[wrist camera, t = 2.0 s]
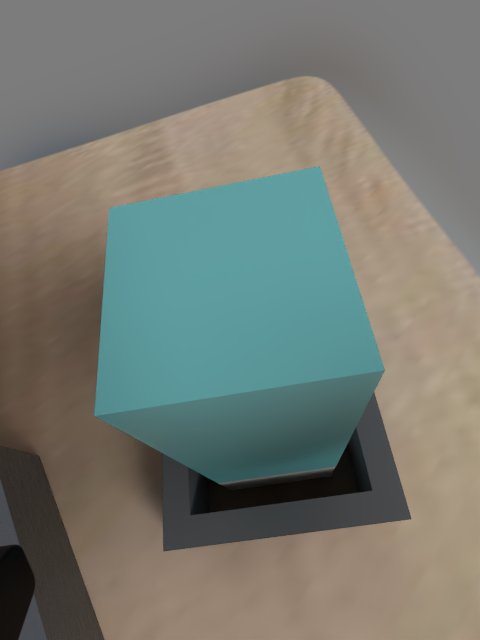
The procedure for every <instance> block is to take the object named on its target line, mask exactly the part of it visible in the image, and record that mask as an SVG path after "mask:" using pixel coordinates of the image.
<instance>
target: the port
mask: <svg viewBox="0 0 480 640" xmlns="http://www.w3.org/2000/svg"><path fill="white" fill-rule="evenodd" d="M13 544H16V545H19V546H21V547H22V549H23V550H24V553H25V555H26V557H27V559H28V562H29V564H30V566H31V569H32V571H33V573H34V576H35V591H34V594H33V597H32V600H31V603H30V606H29V610H28V613H27V616H26V619H25V622H24V625H23V628H22V631H21V634H20V637H19V640H104V638H103V635H102V632H101V629H100V627H99V624H98V621H97V618H96V615H95V613H94V610H93V607H92V604H91V601H90V598H89V596H88V593H87V590H86V587H85V584H84V582H83V579H82V576H81V573H80V570H79V567H78V565H77V562H76V559H75V556H74V553H73V551H72V548H71V545H70V542H69V539H68V536H67V534H66V531H65V528H64V525H63V522H62V520H61V517H60V514H59V511H58V508H57V505H56V503H55V500H54V497H53V494H52V491H51V489H50V486H49V483H48V480H47V477H46V474H45V472H44V469H43V466H42V463H41V460H40V458H39V456H36V455H33V454H29V453H26V452H22V451H18V450H15V449H11V448H7V447H4V446H0V546H6V545H13Z"/></svg>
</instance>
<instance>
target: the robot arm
mask: <svg viewBox="0 0 480 640" xmlns="http://www.w3.org/2000/svg"><path fill="white" fill-rule="evenodd" d="M34 591H35V576H34V573H33V571H32V569H31V566H30V564H29V562H28V559H27V557H26V555H25V553H24V550H23V549H22V547H21V546H19V545H16V544H13V545H6V546H0V640H19V637H20V634H21V631H22V628H23V625H24V622H25V619H26V616H27V613H28V610H29V606H30V603H31V600H32V597H33V594H34Z"/></svg>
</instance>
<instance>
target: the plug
mask: <svg viewBox="0 0 480 640" xmlns="http://www.w3.org/2000/svg"><path fill="white" fill-rule="evenodd" d="M384 371H385V369H384V366H383V363H382V360H381V357H380V354H379V350H378V347H377V344H376V341H375V338H374V335H373V332H372V329H371V325H370V322H369V319H368V316H367V313H366V310H365V307H364V303H363V300H362V297H361V294H360V291H359V288H358V285H357V281H356V278H355V275H354V272H353V269H352V266H351V263H350V259H349V256H348V253H347V250H346V247H345V244H344V241H343V237H342V234H341V231H340V228H339V225H338V222H337V219H336V215H335V212H334V209H333V206H332V203H331V200H330V197H329V193H328V190H327V187H326V184H325V181H324V178H323V175H322V171H321V168H320V166H319V167H314V168H309V169H304V170H299V171H294V172H289V173H284V174H279V175H273V176H268V177H263V178H258V179H253V180H248V181H243V182H238V183H233V184H228V185H223V186H218V187H213V188H207V189H202V190H197V191H192V192H187V193H182V194H177V195H172V196H167V197H162V198H157V199H152V200H146V201H141V202H136V203H131V204H126V205H121V206H116V207H111V208H109V218H108V232H107V246H106V260H105V274H104V288H103V302H102V316H101V330H100V344H99V358H98V372H97V385H96V399H95V413H94V416H95V417H97V418H99V419H101V420H102V421H104V422H106V423H108V424H110V425H112V426H113V427H115V428H117V429H119V430H121V431H123V432H124V433H126V434H128V435H130V436H132V437H134V438H135V439H137V440H139V441H141V442H143V443H145V444H147V445H148V446H150V447H152V448H154V449H156V450H158V451H159V452H161V453H163V454H165V455H167V456H169V457H170V458H172V459H174V460H176V461H178V462H180V463H182V464H183V465H185V466H187V467H189V468H191V469H193V470H194V471H196V472H198V473H200V474H202V475H204V476H205V477H207V478H209V479H211V480H213V481H215V482H216V483H218V484H220V485H222V486H224V487H226V488H228V489H229V490H236V489H243V488H251V487H258V486H265V485H272V484H279V483H286V482H293V481H301V480H308V479H315V478H322V477H329V476H331V475H332V473H333V471H334V469H335V467H336V465H337V464H338V462H339V460H340V458H341V456H342V454H343V452H344V450H345V448H346V446H347V444H348V442H349V440H350V438H351V436H352V434H353V432H354V430H355V428H356V426H357V424H358V422H359V420H360V418H361V416H362V414H363V412H364V410H365V408H366V406H367V404H368V402H369V400H370V399H371V397H372V395H373V393H374V391H375V389H376V387H377V385H378V383H379V381H380V379H381V377H382V375H383V373H384Z"/></svg>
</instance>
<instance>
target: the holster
mask: <svg viewBox="0 0 480 640" xmlns="http://www.w3.org/2000/svg"><path fill="white" fill-rule="evenodd" d="M347 447H348V451H349V455H350V459H351V463H352V467H353V471H354V475H355V480H356V484H357V488H358V492H359V493H352V494H344V495H337V496H330V497H322V498H315V499H308V500H300V501H293V502H286V503H278V504H271V505H264V506H256V507H249V508H242V509H234V510H227V511H220V512H212V513H210V503H209V488H208V478H207V477H205V476H204V475H202V474H200V473H198V472H196V471H194V470H193V469H191V468H189V467H187V466H185V465H183V464H182V463H180V462H178V461H176V460H174V459H172V458H170V457H169V456H167V455H165V454H163V453H162V481H163V550H164V551H170V550H177V549H185V548H193V547H200V546H208V545H216V544H223V543H231V542H239V541H246V540H254V539H262V538H270V537H277V536H285V535H293V534H300V533H308V532H316V531H323V530H331V529H339V528H346V527H354V526H362V525H369V524H377V523H385V522H393V521H400V520H408V519H411V516H410V512H409V509H408V506H407V502H406V499H405V495H404V492H403V489H402V485H401V482H400V478H399V475H398V472H397V468H396V465H395V462H394V458H393V455H392V451H391V448H390V445H389V441H388V438H387V434H386V431H385V428H384V424H383V421H382V417H381V414H380V411H379V407H378V404H377V400H376V397H375V394H374V393H373V395H372V397H371V399H370V400H369V402H368V404H367V406H366V408H365V410H364V412H363V414H362V416H361V418H360V420H359V422H358V424H357V426H356V428H355V430H354V432H353V434H352V436H351V438H350V440H349V442H348V444H347Z"/></svg>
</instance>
